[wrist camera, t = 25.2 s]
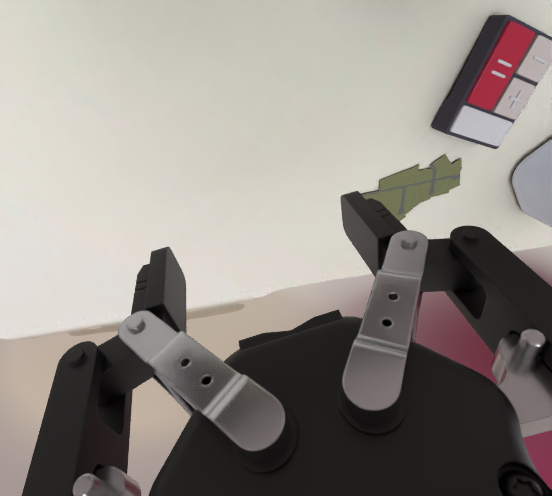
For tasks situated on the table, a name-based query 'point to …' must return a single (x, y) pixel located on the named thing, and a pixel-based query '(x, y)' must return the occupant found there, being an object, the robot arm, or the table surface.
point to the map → (416, 186)
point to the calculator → (495, 81)
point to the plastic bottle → (535, 184)
